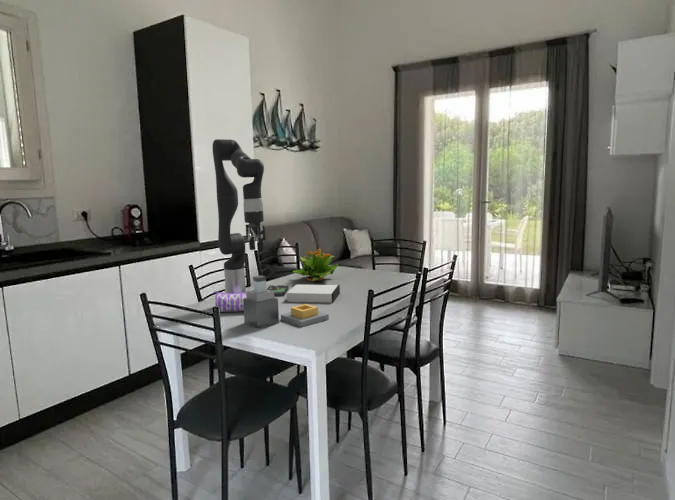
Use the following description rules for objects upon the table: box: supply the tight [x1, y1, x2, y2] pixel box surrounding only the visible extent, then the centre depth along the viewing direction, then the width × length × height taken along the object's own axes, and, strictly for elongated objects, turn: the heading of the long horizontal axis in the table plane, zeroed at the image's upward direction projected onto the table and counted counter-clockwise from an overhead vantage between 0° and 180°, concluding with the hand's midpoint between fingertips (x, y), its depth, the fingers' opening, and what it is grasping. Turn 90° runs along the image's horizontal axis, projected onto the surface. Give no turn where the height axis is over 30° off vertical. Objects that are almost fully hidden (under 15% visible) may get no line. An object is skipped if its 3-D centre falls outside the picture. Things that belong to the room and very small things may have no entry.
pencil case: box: [213, 290, 247, 313], centre depth 201 cm, size 22×9×10 cm, turn 102°
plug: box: [252, 275, 267, 294], centre depth 181 cm, size 4×4×9 cm
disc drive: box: [286, 284, 341, 303], centre depth 221 cm, size 18×22×5 cm
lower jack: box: [280, 303, 330, 328], centre depth 186 cm, size 14×14×5 cm
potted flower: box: [292, 248, 339, 283], centre depth 261 cm, size 25×24×18 cm
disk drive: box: [266, 284, 290, 297], centre depth 233 cm, size 10×3×15 cm
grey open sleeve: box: [243, 288, 280, 329], centre depth 182 cm, size 10×10×13 cm
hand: (256, 250), depth 181 cm, fingers open, 8 cm apart
